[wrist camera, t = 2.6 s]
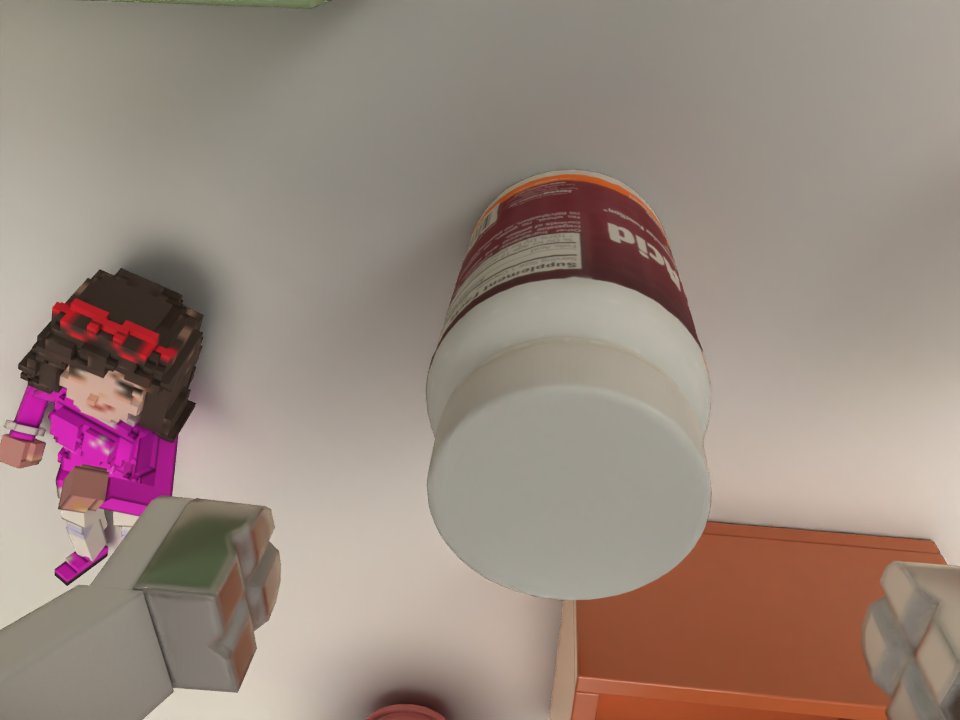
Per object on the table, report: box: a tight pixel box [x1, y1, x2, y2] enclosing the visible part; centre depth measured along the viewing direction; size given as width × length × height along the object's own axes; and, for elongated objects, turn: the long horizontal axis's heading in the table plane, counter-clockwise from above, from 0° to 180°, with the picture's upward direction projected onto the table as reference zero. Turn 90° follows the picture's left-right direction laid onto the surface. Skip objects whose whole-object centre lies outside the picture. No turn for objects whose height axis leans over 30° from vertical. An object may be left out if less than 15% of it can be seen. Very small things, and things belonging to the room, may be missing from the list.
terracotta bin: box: [549, 522, 947, 720], centre depth 21 cm, size 10×10×6 cm
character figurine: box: [0, 268, 203, 586], centre depth 19 cm, size 6×5×12 cm
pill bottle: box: [426, 169, 711, 600], centre depth 14 cm, size 5×5×8 cm
